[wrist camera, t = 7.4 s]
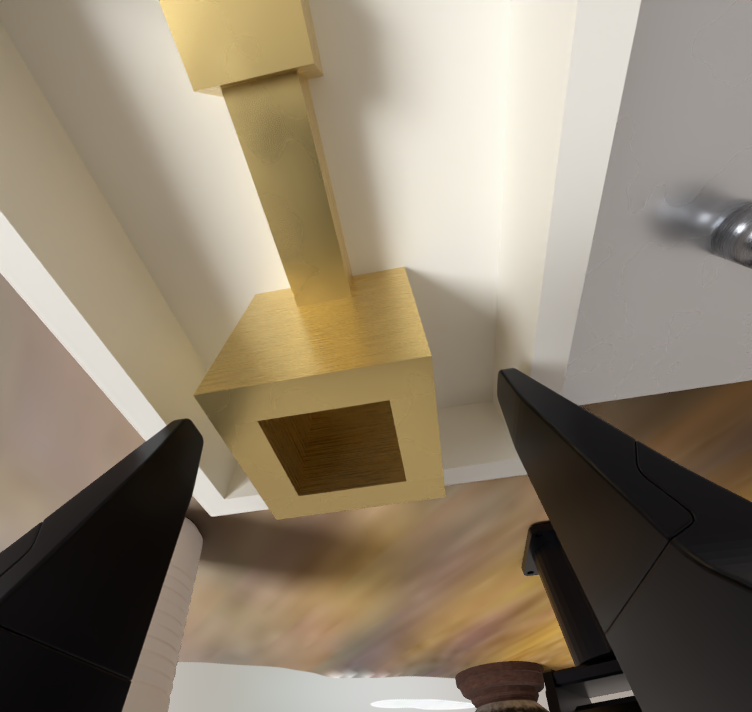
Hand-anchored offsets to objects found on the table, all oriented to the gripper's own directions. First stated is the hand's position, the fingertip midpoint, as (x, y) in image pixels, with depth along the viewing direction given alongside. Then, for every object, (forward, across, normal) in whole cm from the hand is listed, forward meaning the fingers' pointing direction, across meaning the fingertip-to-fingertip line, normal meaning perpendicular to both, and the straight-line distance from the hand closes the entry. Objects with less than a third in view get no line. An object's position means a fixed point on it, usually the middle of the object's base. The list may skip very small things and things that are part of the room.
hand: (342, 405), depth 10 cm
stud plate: (+4, -12, -3) cm, 14 cm away
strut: (+3, 0, -3) cm, 5 cm away
